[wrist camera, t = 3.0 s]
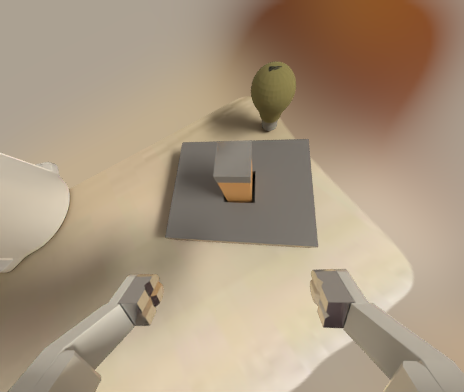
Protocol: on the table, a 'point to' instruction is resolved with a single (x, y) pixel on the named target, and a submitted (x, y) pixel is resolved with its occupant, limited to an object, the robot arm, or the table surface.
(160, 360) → the table surface
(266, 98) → the light bulb
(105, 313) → the robot arm
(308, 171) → the grey block with hole
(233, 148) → the plug
